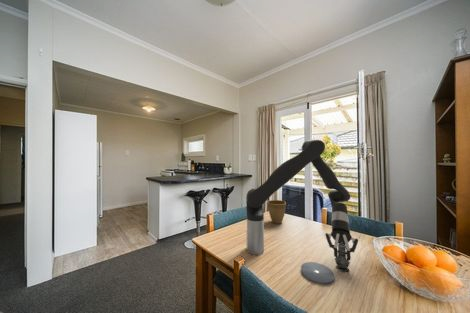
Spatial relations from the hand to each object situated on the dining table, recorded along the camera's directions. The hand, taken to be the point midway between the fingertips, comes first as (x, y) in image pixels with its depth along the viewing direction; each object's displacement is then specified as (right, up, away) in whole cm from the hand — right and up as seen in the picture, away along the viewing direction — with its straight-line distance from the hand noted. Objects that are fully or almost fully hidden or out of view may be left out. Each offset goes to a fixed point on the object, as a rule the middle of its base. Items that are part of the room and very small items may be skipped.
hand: (342, 259), depth 76 cm
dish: (-12, -5, -2) cm, 13 cm away
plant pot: (-14, -7, +61) cm, 63 cm away
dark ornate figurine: (+1, -5, +2) cm, 6 cm away
